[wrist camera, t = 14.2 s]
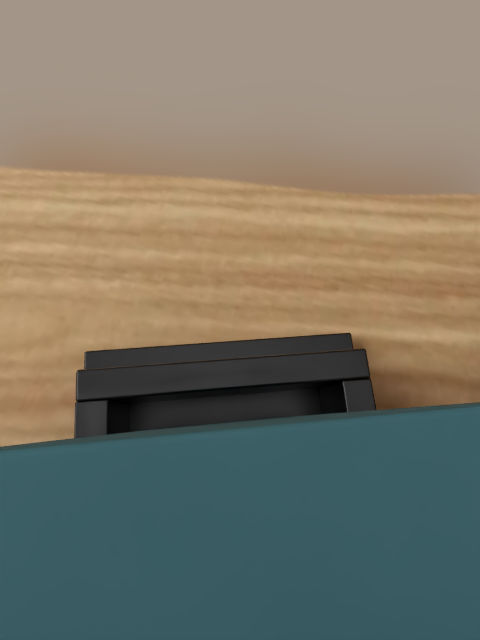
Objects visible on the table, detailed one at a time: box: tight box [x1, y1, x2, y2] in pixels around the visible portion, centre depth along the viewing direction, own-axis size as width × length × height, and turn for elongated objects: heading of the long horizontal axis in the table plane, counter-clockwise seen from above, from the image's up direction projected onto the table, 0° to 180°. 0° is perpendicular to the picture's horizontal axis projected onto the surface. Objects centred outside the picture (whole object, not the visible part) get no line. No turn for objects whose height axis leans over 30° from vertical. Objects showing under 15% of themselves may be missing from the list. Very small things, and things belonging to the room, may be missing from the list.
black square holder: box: [74, 333, 376, 438], centre depth 13 cm, size 10×11×4 cm
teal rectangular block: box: [0, 402, 480, 640], centre depth 8 cm, size 4×6×12 cm, turn 95°
